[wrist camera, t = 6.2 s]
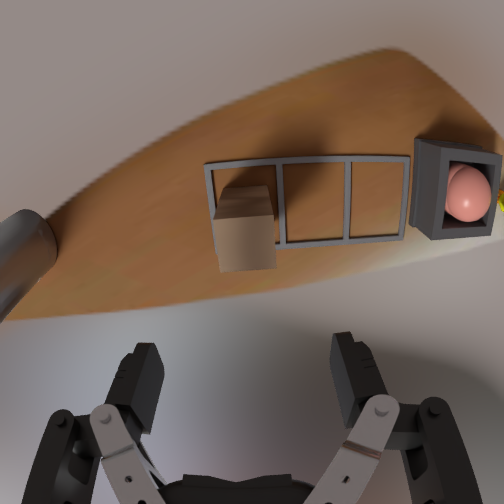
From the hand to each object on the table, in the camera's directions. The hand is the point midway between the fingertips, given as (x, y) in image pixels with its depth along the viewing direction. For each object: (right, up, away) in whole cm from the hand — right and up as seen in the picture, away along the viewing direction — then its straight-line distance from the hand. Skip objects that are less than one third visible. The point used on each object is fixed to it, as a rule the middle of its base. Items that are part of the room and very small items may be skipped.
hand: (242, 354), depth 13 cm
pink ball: (+23, +12, +15) cm, 30 cm away
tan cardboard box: (0, +9, +18) cm, 20 cm away
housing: (+23, +13, +16) cm, 31 cm away
